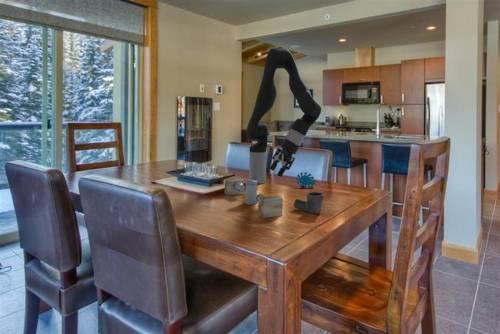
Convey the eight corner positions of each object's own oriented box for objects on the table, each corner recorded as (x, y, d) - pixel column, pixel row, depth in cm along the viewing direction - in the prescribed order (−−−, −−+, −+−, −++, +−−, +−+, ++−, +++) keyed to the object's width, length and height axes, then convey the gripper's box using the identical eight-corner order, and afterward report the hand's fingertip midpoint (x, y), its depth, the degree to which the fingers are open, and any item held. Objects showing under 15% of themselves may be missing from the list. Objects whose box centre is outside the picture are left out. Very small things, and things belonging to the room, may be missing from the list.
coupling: (243, 202, 155) (243, 180, 154) (254, 201, 158) (254, 179, 156) (248, 205, 151) (248, 182, 149) (259, 204, 153) (259, 181, 151)
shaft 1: (232, 189, 168) (232, 182, 167) (239, 188, 169) (239, 181, 169) (238, 192, 162) (238, 185, 161) (245, 192, 163) (245, 184, 163)
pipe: (298, 207, 148) (299, 188, 147) (326, 213, 140) (327, 193, 139) (291, 210, 143) (291, 191, 142) (319, 216, 136) (320, 196, 134)
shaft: (255, 202, 145) (255, 194, 144) (263, 201, 146) (263, 193, 145) (263, 207, 138) (263, 198, 138) (271, 206, 140) (271, 197, 139)
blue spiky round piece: (295, 185, 183) (296, 170, 189) (293, 191, 188) (295, 176, 193) (317, 188, 182) (317, 173, 188) (314, 194, 187) (315, 179, 193)
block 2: (258, 214, 138) (258, 196, 137) (276, 212, 141) (276, 195, 140) (263, 218, 133) (264, 200, 132) (282, 215, 137) (282, 197, 135)
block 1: (224, 193, 172) (224, 179, 171) (239, 191, 175) (239, 177, 174) (228, 195, 167) (228, 181, 166) (243, 193, 171) (243, 179, 170)
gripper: (279, 134, 162) (262, 164, 165) (293, 141, 150) (274, 175, 152) (292, 140, 166) (275, 170, 168) (306, 149, 153) (288, 181, 155)
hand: (275, 172), depth 160 cm, fingers open, 8 cm apart
